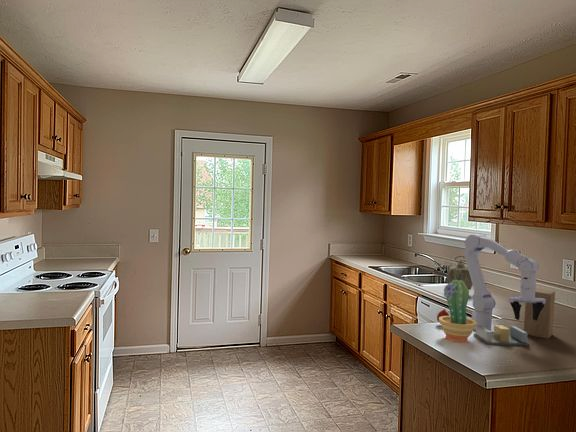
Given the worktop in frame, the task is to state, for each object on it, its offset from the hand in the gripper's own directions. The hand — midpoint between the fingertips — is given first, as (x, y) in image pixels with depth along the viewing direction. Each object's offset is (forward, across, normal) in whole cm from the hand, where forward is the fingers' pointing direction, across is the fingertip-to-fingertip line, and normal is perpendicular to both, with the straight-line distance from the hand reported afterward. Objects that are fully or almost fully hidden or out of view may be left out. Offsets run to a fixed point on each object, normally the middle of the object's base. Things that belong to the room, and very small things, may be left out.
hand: (526, 319), depth 192 cm
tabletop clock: (+9, +9, +97) cm, 98 cm away
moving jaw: (+8, -3, 0) cm, 9 cm away
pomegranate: (+10, -28, +21) cm, 36 cm away
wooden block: (+10, +12, +12) cm, 20 cm away
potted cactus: (+10, -29, 0) cm, 31 cm away
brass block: (+8, -10, 0) cm, 13 cm away
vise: (+10, -10, 0) cm, 14 cm away
